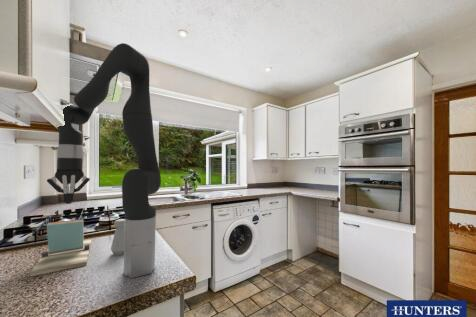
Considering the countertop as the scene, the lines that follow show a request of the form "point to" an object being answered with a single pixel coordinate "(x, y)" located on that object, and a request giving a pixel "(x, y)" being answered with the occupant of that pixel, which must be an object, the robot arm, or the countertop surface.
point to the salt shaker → (118, 237)
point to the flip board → (62, 260)
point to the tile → (65, 236)
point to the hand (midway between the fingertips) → (68, 203)
